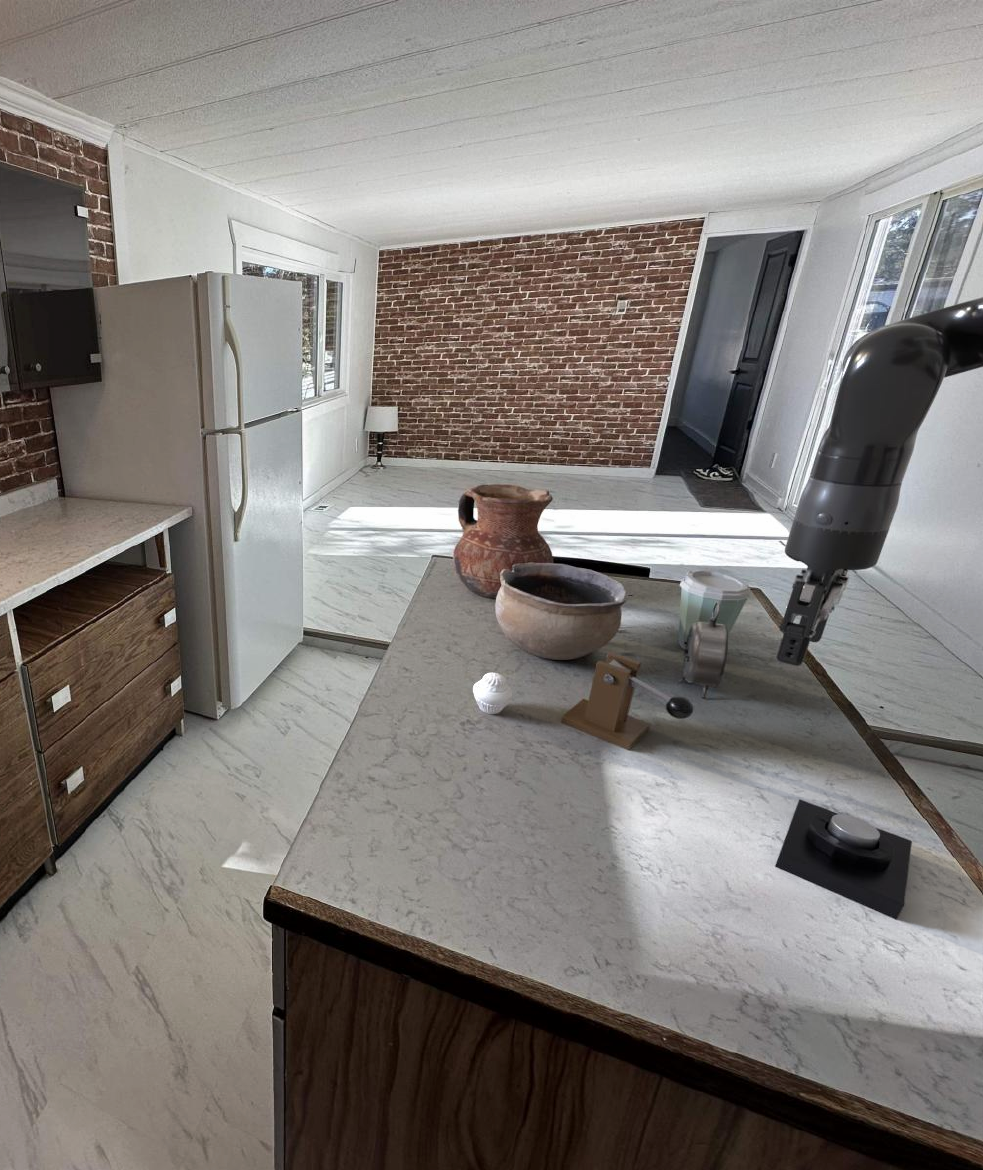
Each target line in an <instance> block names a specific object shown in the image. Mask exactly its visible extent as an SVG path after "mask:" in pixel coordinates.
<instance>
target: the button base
mask: <svg viewBox="0 0 983 1170" xmlns="http://www.w3.org/2000/svg"><path fill="white" fill-rule="evenodd" d="M837 814H839V813H838V812H835V811H832V810H830V809H827V808H824V807H821V806H819V805H816V804H814V803H812V802H811V803H810V802H808V801H805V800H802V799H798V802H797V804H796V807H795V809H794V812H793V815H792V817H791V819H790V820H791V821H790V823H789V825H788V829H787V832H786V834H785V837H784V840H783V843H782V846H781V848H780V852H779V854H778V857H777V859H776V862H775V865H774V866H775V868H777V869H780V870H782V871H784V872H786V873H788V874H790V875H793V876H795V877H797V878H800V879H802V880H804V881H807V882H808V883H811V884H814V885H816V886H818V887H819V888H820V887H821V888H822V889H825V890H827V891H829V892H831V893H834V894H836V895H838V896H841V897H843V898H846V899H848V900H850V901H852V902H855V903H857V904H859V905H861V906H864V907H866V908H868V909H871V910H873V911H875V912H878V913H880V914H882V915H885V916H886V917H889V918H891V919H894V920H898V918H899V916H900V914H901V912H902V910H903V909H904V906H905V900H906V892H907V883H908V875H909V868H910V860H911V852H912V844H913V840H910V839H908V838H905V837H902V836H900V835H897V834H895V833H891V832H889V831H887V830H884V829H882V828H878V827H876V826H874V827H875V828H876V829H877V830H878V831H879V833H880V837H879V839H878V842H877V844H876V846H875V848H874V849H873V850H864V849H858V848H855V847H852V846H850V845H847V844H845V843H842V842H840V841H839V840H837V839H836V838H834V837H832V836H831V835H830V834H829V833H828V831H827V828H828V826H829V823H830V821H831V819H832V817H833V816H834V815H837Z"/></svg>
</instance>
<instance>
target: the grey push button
mask: <svg viewBox="0 0 983 1170" xmlns="http://www.w3.org/2000/svg"><path fill="white" fill-rule="evenodd" d="M875 827H876V826H874V825H873V824H871V823H869V822H868V821H866V820H864V819H861V818H859V817H856V816H854V815H849V814H843V813H838V814H837V815H834V816H833V817H832V819H831V821H830V823H829V826H828V828H827V831H828V833H829V834H830V835H831V836H832V837H834V838H836V839H837V840H839V841H840V842H842V843H845V844H847V845H850V846H852V847H855V848H858V849H864V850H873V849H874V848H875V846H876V844H877V842H878V839H879V837H880V833H879V831H878V830H877V829H876V828H877V827H876V828H875Z"/></svg>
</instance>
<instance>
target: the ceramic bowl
mask: <svg viewBox="0 0 983 1170" xmlns="http://www.w3.org/2000/svg"><path fill="white" fill-rule="evenodd" d="M512 567H513V571H510V570H508V569H503V570H502V571H501V573H500V581H501V585H502V586H501V588H500V589H499V591H498V594H497V597H496V598H495V606H494V608H495V609H494V610H495V616H496V619H497V623H498V624H499V627H500V628H501V631H502V632H503V633H504V635H505V636H506V638H507V639H508V640H509V642H511V643H512V644H513V645H514V646H516V647H517V648H518V649H520V650H521V651H523V652H525V653H527V654H530V655H531V656H535V657H538V658H543V659H547V660H555V661H557V660H558V661H565V660H566V661H567V660H574V659H579V658H582V657H584V656H588V655H589V654H591V653H593V652H595V651H597V650H599V649H602V648H603V647H605V646H607V645H608V644H609V643H610V642H611V641H612V640H613V639H614V638H615V636H616V635H617V633H618V631H619V629H620V627H621V624H622V606H624V604H625V603H626V602H627V600H628V598H629V597H630V595H629V592H628V591H627V588H626V587H625V586H624V584H623V583H621V582H620V581H618V580H616V579H614V578H611V577H610V576H609V575H607V574H605V573H601V572H599V571H595V570H592V569H588V568H582V567H578V566H577V567H576V566H572V565H568V564H565V563H554V562H553V563H533V562H532V563H524V564H515V565H513V566H512Z"/></svg>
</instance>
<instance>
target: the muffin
mask: <svg viewBox="0 0 983 1170" xmlns="http://www.w3.org/2000/svg"><path fill="white" fill-rule="evenodd" d="M472 692H473V697H474V699H475V701H476V703H477V705H478V707H479V710H480V711H482V712H484V713H485V714H489V715H497V714H498V715H499V714H500V713H501V712H502V711H503V710H504V709H505V708H506V707H507V705H509V703H510V701H511V700H512V698H513V691H512V689H511V687H510V686H509V685H508V683H507V679H506V678H505V677H504V675H502V674H500V673H498V672H488V673H485V674H484V675H483V676H482V679H480V680H478V681H476V682H475V683H474V685H473V687H472Z"/></svg>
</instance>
